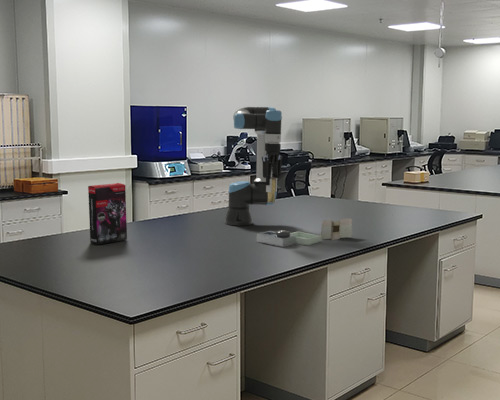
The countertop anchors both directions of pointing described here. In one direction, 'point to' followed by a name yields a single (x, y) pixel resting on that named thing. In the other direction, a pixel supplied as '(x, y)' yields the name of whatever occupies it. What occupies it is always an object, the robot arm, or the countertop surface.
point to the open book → (336, 229)
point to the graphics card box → (107, 213)
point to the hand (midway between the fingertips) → (271, 191)
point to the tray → (306, 238)
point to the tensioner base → (276, 238)
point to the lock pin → (272, 191)
